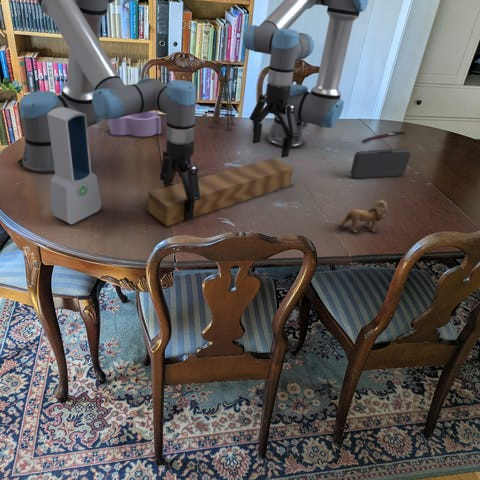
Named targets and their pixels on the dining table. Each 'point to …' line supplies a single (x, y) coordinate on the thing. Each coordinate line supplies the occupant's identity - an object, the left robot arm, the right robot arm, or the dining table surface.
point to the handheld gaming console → (380, 163)
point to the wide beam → (220, 190)
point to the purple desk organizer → (136, 124)
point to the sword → (382, 136)
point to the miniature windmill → (224, 79)
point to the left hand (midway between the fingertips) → (178, 210)
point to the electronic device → (71, 167)
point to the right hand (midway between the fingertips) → (270, 149)
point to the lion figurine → (366, 215)
